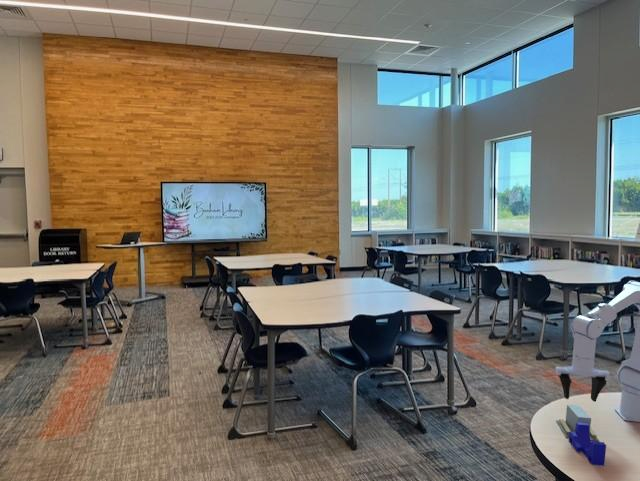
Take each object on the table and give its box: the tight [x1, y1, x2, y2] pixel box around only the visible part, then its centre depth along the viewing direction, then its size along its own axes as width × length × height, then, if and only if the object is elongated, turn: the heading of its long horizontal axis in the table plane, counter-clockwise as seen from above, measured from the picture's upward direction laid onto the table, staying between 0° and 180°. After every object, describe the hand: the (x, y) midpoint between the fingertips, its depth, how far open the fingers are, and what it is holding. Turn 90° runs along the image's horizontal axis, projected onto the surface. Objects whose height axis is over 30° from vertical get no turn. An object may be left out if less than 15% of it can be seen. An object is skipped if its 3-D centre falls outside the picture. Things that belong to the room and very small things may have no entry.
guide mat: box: [555, 419, 600, 442], centre depth 143 cm, size 9×10×1 cm
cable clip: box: [568, 422, 607, 467], centre depth 131 cm, size 12×4×6 cm, turn 172°
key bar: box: [565, 404, 592, 434], centre depth 142 cm, size 8×4×6 cm, turn 174°
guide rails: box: [558, 418, 598, 439], centre depth 142 cm, size 8×8×1 cm
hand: (579, 398), depth 143 cm, fingers open, 7 cm apart
